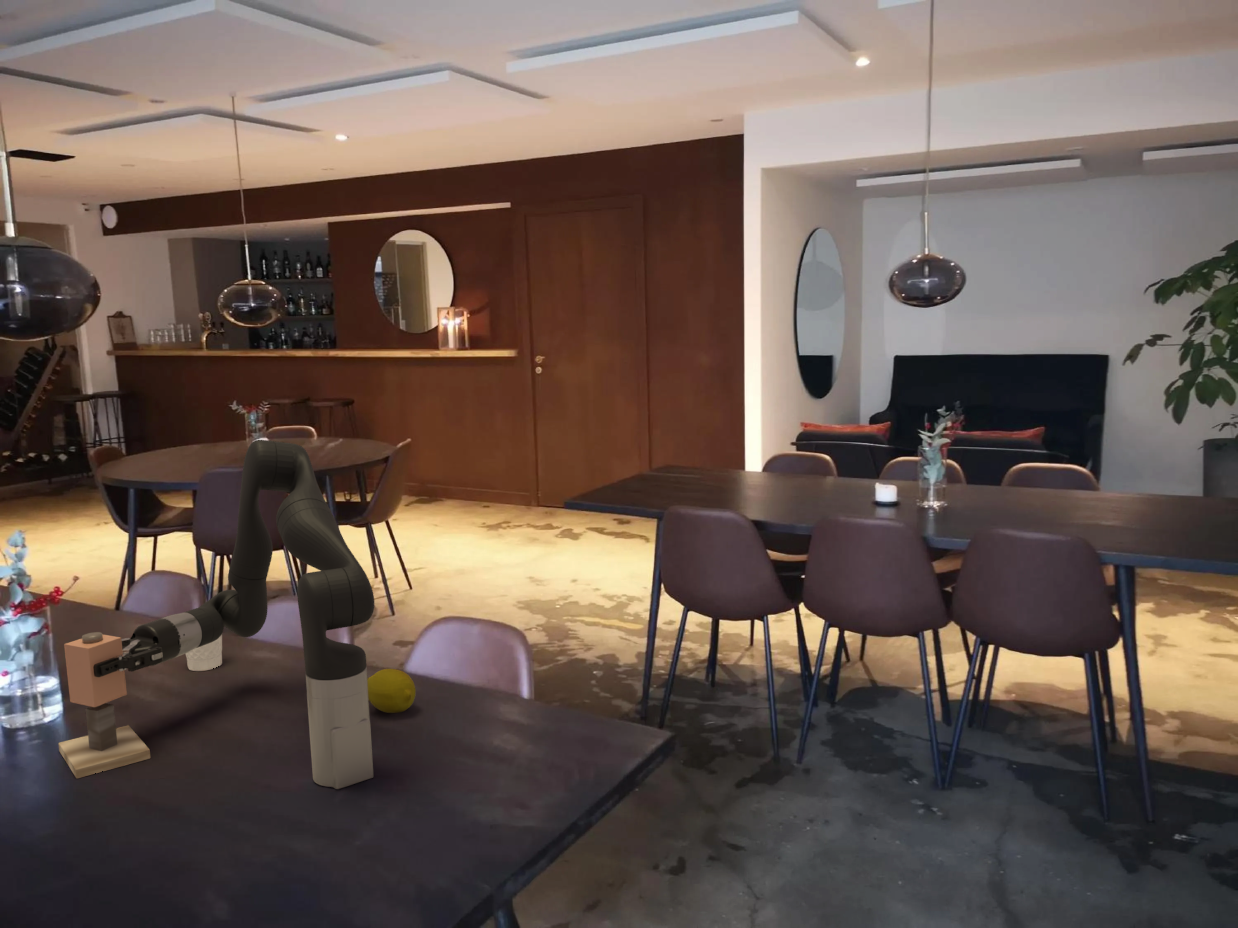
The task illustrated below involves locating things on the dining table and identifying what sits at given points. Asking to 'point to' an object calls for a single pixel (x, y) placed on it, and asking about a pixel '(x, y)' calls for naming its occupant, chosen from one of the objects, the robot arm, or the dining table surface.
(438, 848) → the dining table surface
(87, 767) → the shaft board
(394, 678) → the lemon
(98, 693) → the square capped bottle
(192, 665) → the white cup
